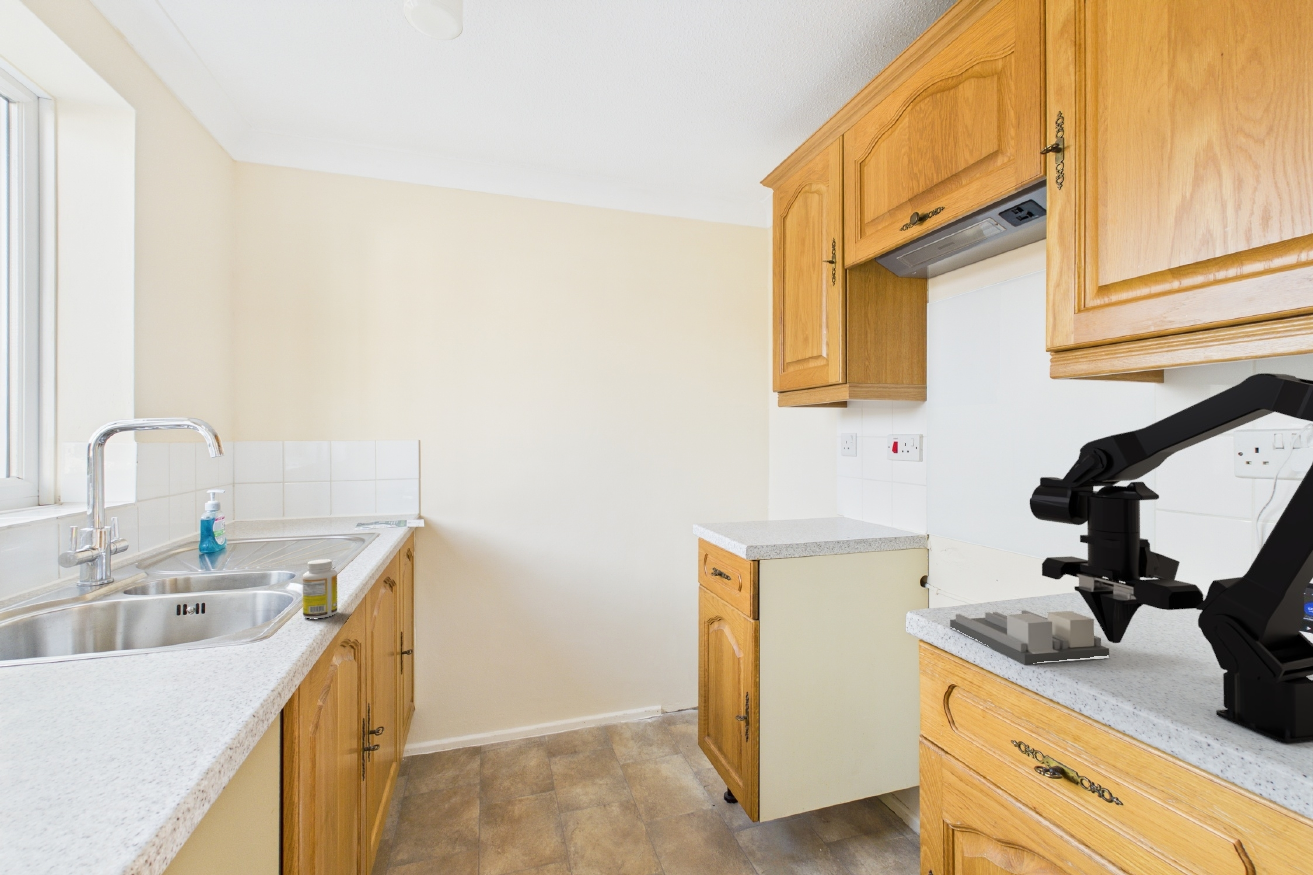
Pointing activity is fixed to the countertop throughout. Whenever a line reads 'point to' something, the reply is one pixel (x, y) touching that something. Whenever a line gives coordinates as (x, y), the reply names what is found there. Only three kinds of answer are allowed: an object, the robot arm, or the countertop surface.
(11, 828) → the countertop surface
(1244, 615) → the robot arm
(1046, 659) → the switch board
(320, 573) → the supplement bottle
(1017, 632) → the light grey cube
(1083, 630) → the beige cube
